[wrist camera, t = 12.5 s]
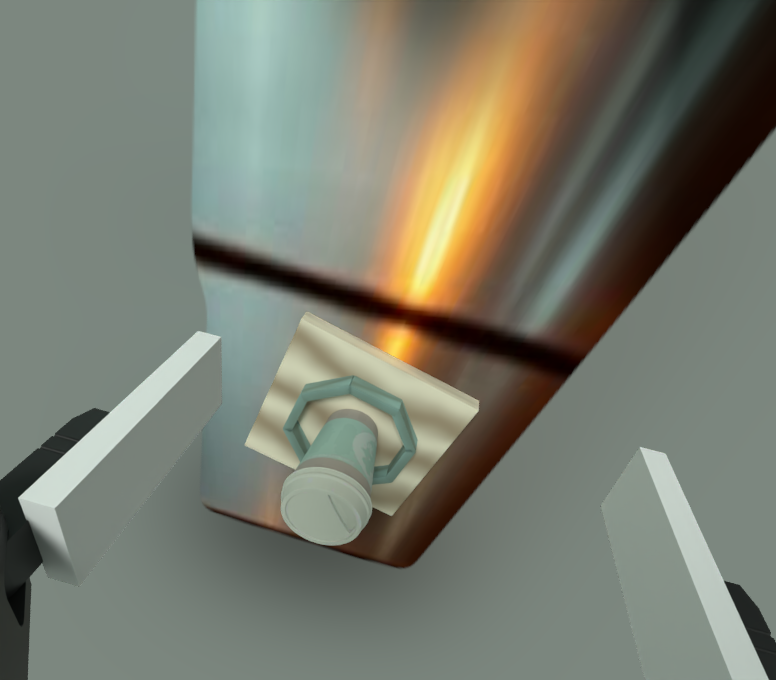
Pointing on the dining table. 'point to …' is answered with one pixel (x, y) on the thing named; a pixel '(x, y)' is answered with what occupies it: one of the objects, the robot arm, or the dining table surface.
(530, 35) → the dining table surface
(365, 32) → the dining table surface
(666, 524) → the robot arm
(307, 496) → the coffee cup
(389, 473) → the serving board
